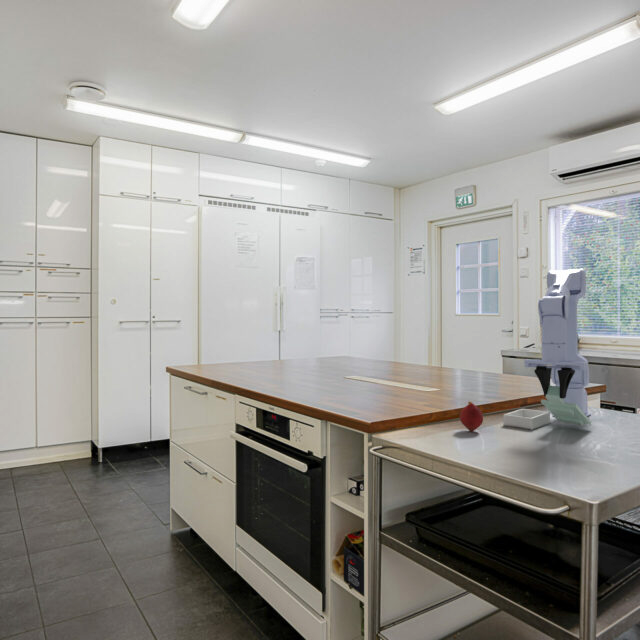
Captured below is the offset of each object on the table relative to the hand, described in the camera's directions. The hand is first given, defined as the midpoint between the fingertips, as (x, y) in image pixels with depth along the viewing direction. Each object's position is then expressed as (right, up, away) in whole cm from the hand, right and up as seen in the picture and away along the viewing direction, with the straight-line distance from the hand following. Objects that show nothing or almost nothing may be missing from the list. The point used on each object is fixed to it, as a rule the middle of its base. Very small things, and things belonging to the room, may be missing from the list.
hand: (555, 397), depth 124 cm
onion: (-19, -10, +7) cm, 23 cm away
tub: (-1, -10, +14) cm, 17 cm away
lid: (+4, -5, +3) cm, 7 cm away
